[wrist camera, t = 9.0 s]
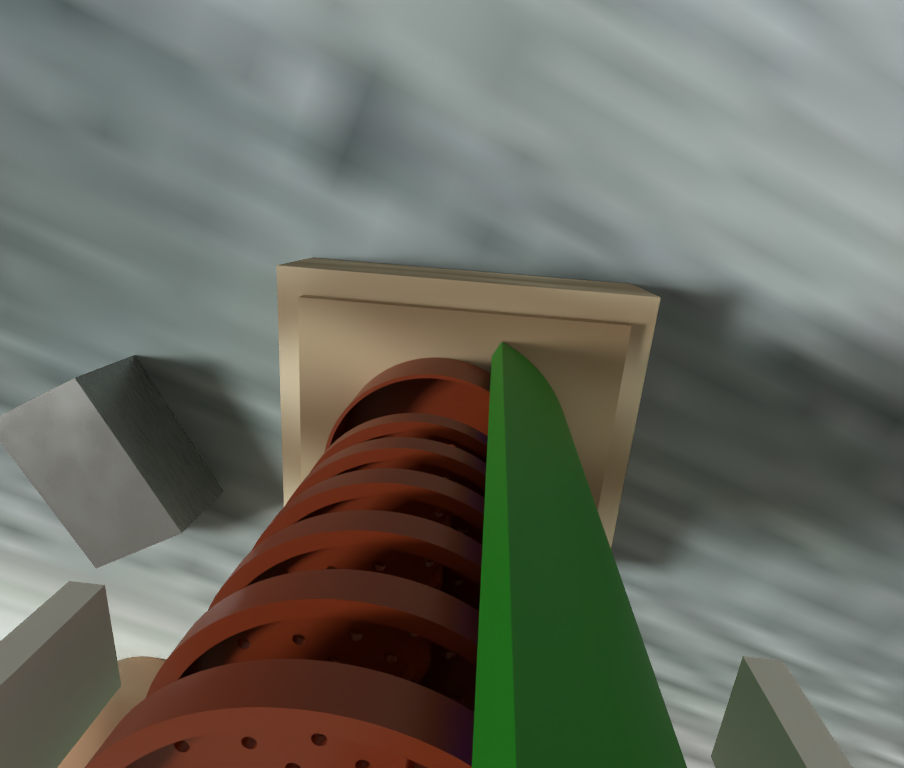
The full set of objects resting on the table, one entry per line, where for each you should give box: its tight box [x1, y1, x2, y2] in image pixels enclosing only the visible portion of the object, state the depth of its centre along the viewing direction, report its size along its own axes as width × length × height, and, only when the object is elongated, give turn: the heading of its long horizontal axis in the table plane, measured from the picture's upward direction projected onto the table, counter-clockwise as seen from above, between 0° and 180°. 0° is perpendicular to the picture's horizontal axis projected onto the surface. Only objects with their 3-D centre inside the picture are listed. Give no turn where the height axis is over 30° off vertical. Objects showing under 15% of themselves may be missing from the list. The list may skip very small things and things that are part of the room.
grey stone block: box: [0, 355, 223, 568], centre depth 25 cm, size 8×5×4 cm, turn 25°
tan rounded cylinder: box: [57, 657, 166, 768], centre depth 29 cm, size 8×8×7 cm
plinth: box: [277, 258, 661, 548], centre depth 23 cm, size 14×14×5 cm
